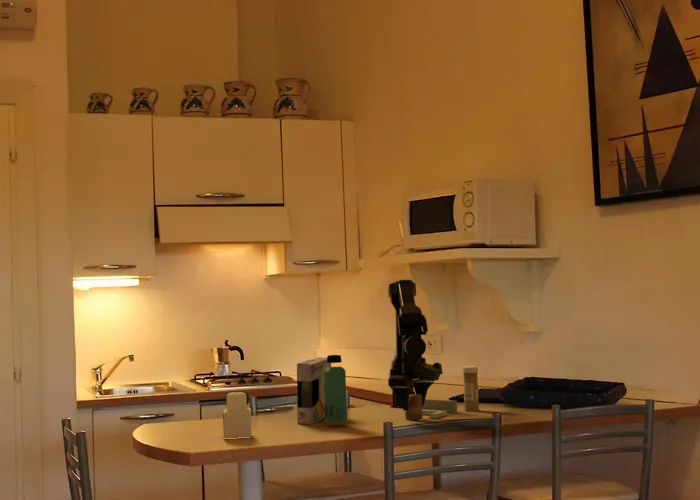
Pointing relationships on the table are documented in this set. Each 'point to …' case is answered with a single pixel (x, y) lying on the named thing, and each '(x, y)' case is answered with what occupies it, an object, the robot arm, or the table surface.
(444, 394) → the table surface
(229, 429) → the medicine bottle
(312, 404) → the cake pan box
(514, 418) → the table surface
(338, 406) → the beverage bottle
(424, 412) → the bracket
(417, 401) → the brown piece
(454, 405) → the backstop wall
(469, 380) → the sprinkles bottle
